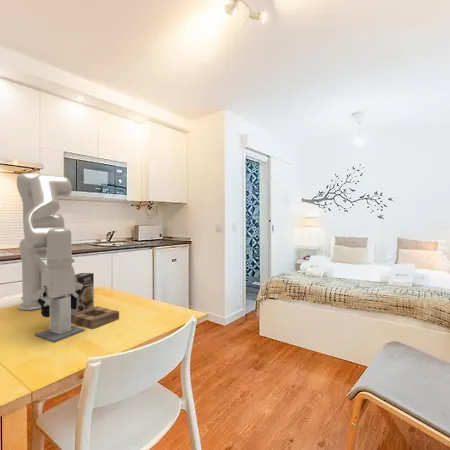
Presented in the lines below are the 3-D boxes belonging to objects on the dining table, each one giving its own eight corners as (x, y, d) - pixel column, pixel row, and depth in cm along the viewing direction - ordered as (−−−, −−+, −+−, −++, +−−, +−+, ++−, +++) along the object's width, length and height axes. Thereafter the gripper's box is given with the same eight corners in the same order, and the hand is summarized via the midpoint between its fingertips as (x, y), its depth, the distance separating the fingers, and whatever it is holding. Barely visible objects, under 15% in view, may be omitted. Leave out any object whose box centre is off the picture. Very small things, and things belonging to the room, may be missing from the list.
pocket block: (69, 322, 111) (69, 314, 111) (96, 313, 122) (96, 306, 122) (92, 328, 105) (92, 320, 105) (119, 318, 115) (119, 311, 115)
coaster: (34, 335, 99) (34, 333, 99) (65, 325, 108) (65, 323, 108) (54, 342, 93) (54, 340, 93) (84, 330, 103) (84, 329, 103)
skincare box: (71, 330, 102) (71, 297, 101) (59, 335, 98) (59, 300, 98) (61, 327, 104) (60, 294, 104) (49, 331, 101) (48, 297, 100)
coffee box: (80, 316, 118) (79, 277, 118) (66, 315, 120) (66, 276, 119) (94, 309, 127) (94, 272, 127) (81, 308, 128) (81, 272, 128)
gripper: (75, 259, 110) (76, 304, 110) (26, 266, 94) (27, 318, 95) (88, 261, 106) (88, 307, 107) (39, 268, 91) (40, 322, 91)
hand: (59, 312), depth 101 cm, fingers open, 9 cm apart
